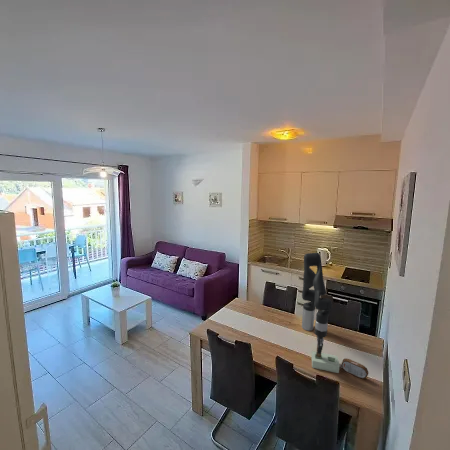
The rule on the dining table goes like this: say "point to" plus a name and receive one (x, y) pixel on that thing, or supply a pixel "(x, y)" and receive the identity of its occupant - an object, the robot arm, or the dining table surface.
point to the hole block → (325, 362)
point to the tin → (355, 368)
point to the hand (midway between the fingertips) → (319, 351)
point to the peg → (317, 352)
